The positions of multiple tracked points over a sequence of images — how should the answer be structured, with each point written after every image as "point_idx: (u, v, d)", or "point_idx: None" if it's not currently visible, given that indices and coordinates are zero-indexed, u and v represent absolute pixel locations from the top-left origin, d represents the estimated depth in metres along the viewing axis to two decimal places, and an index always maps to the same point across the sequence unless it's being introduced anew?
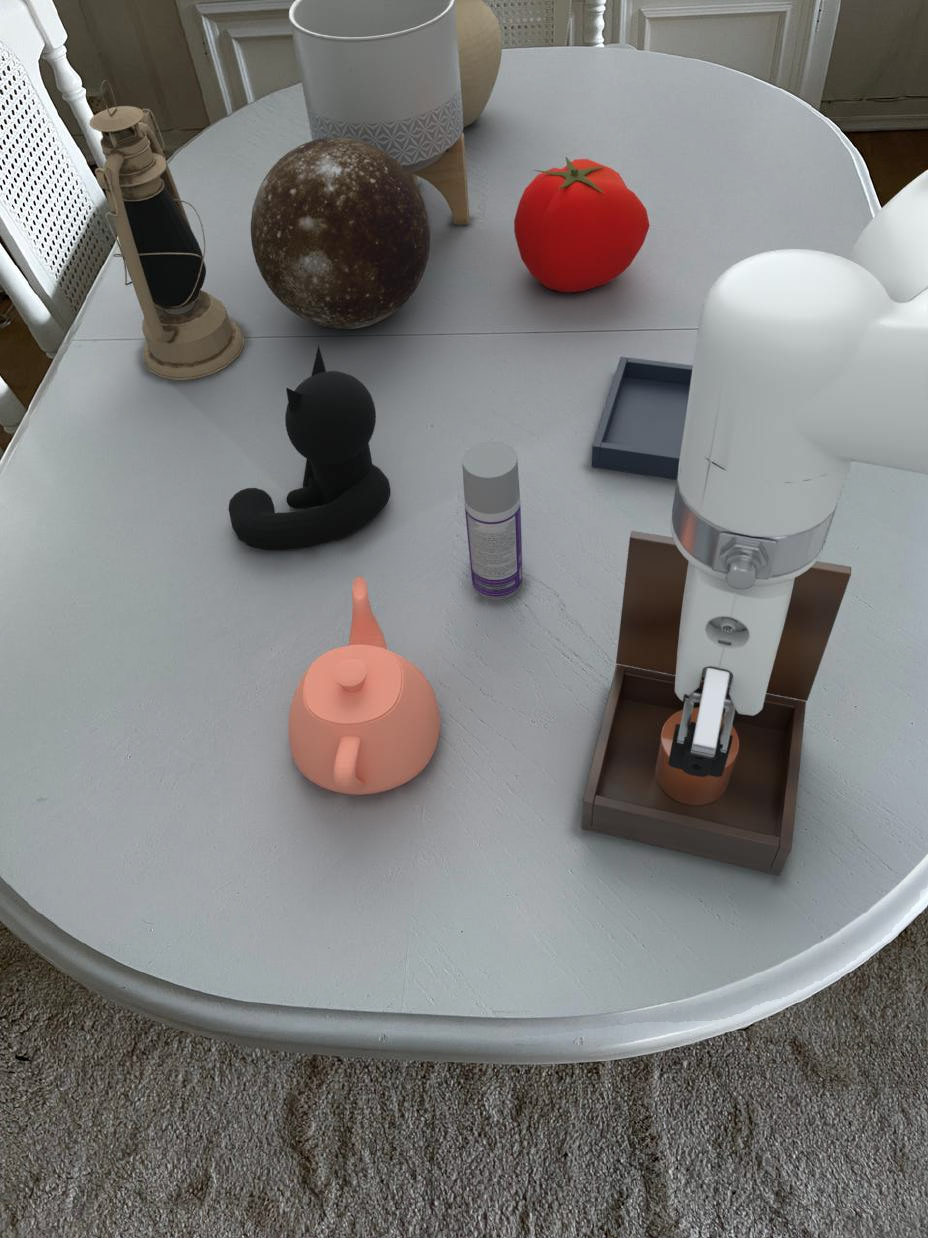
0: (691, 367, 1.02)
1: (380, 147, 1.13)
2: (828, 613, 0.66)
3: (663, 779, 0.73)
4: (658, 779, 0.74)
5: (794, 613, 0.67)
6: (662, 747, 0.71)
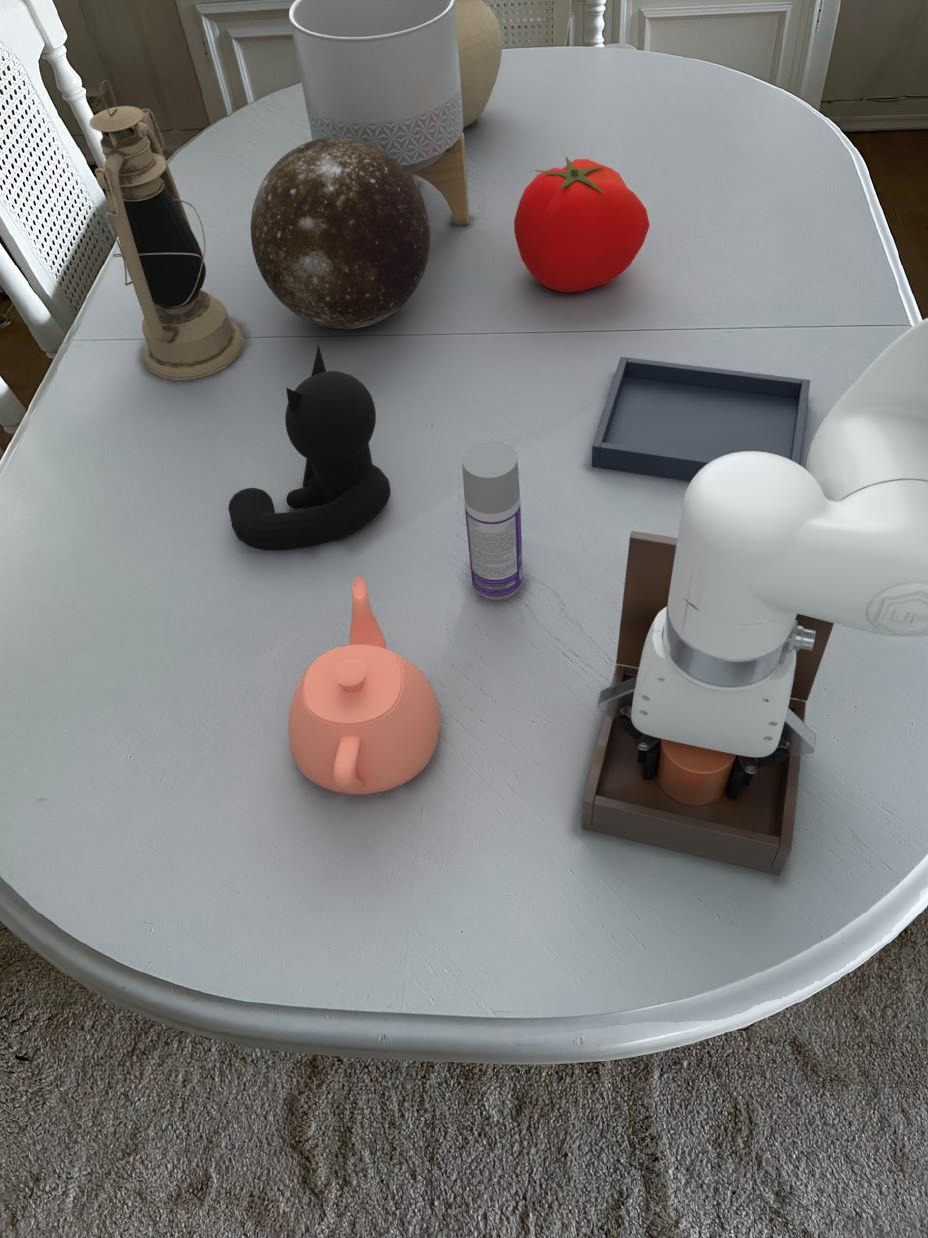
0: (691, 367, 1.02)
1: (380, 147, 1.13)
2: None
3: (663, 779, 0.73)
4: (658, 779, 0.74)
5: None
6: (662, 747, 0.71)
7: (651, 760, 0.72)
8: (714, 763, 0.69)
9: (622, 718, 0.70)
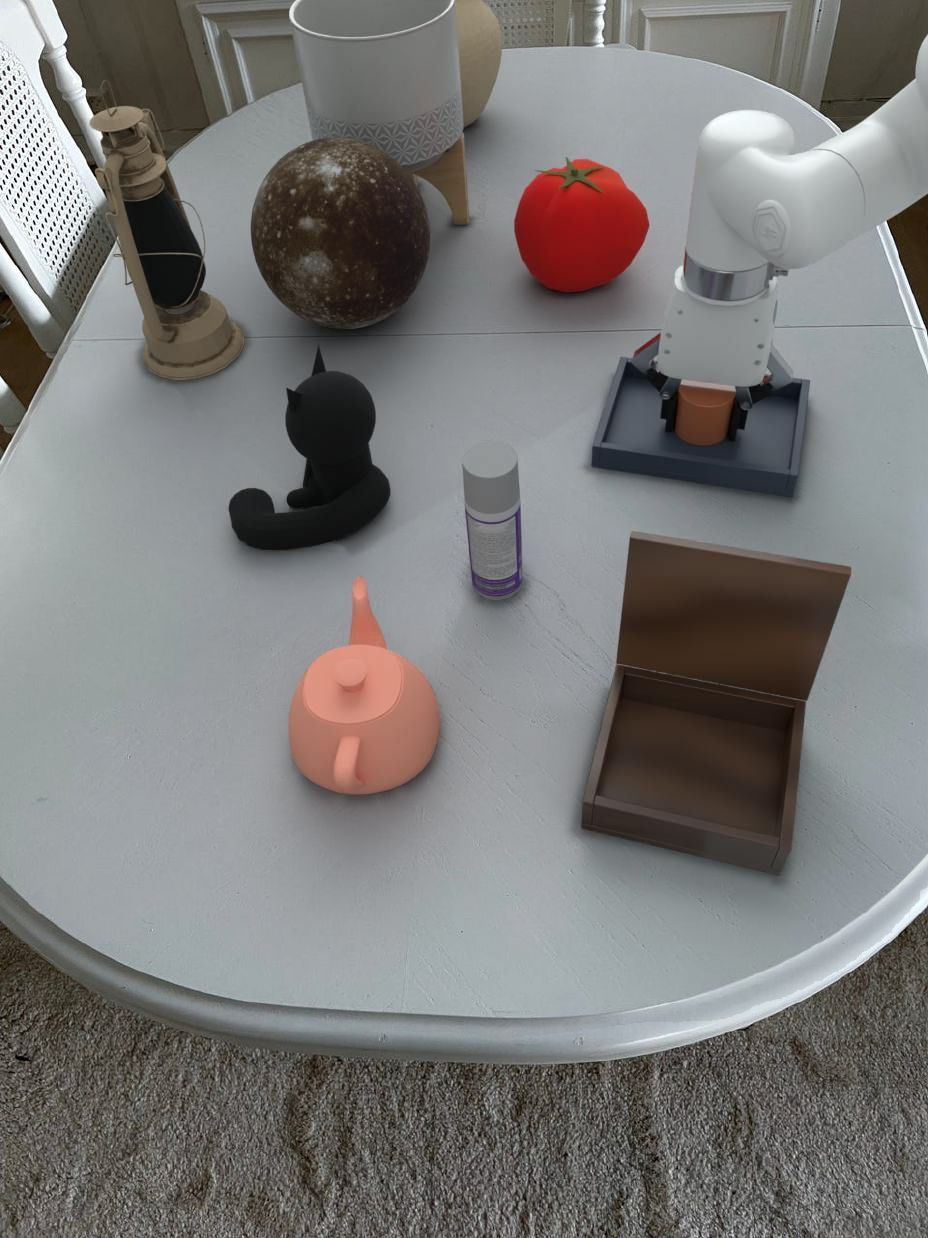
0: None
1: (380, 147, 1.13)
2: (828, 613, 0.66)
3: (680, 425, 0.97)
4: (676, 429, 0.98)
5: (794, 613, 0.67)
6: (679, 394, 0.95)
7: (671, 408, 0.96)
8: (719, 401, 0.94)
9: (650, 371, 0.95)
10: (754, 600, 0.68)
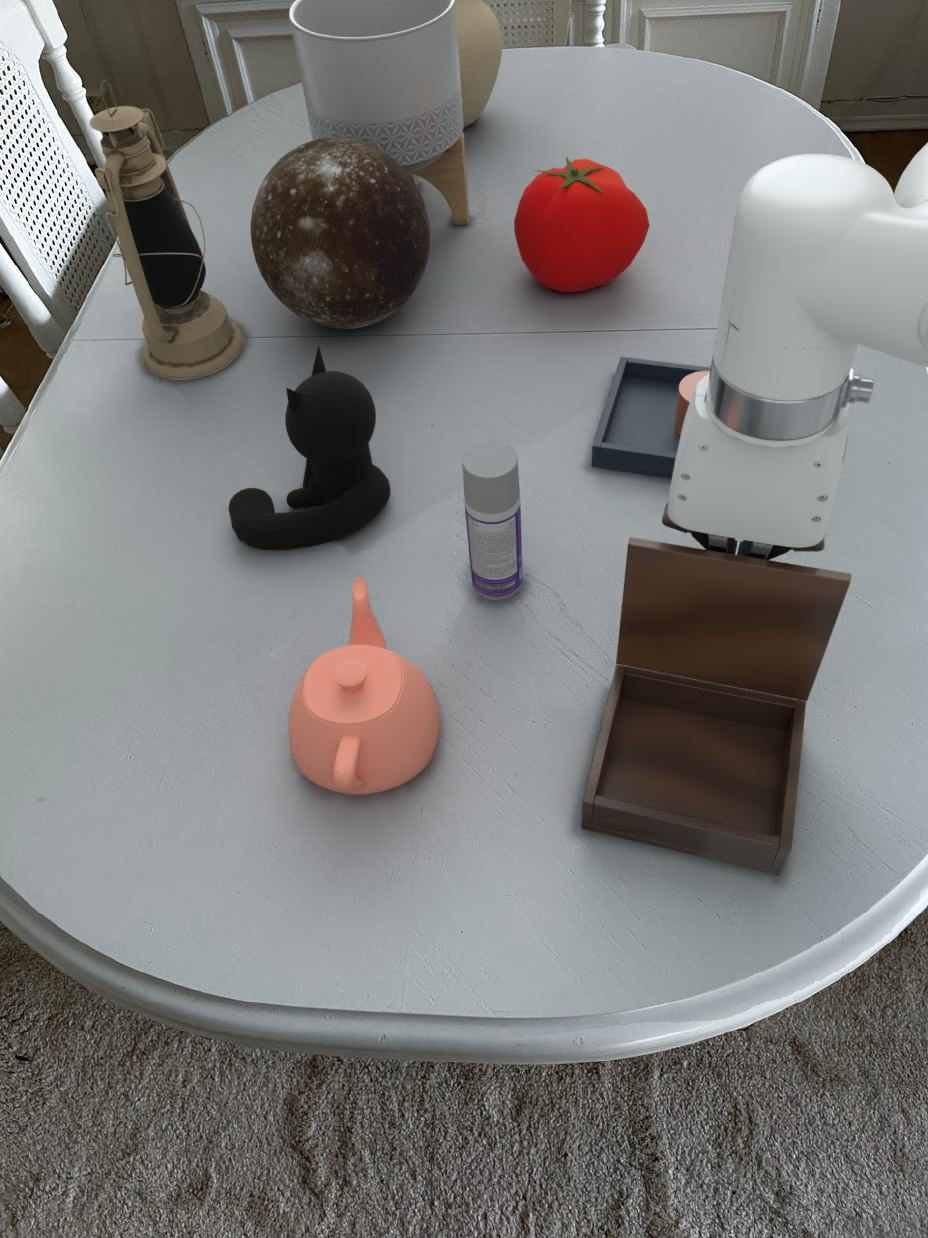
0: (691, 367, 1.02)
1: (380, 147, 1.13)
2: (827, 618, 0.66)
3: (680, 425, 0.97)
4: (676, 429, 0.98)
5: (793, 618, 0.67)
6: (679, 394, 0.95)
7: None
8: None
9: None
10: (754, 605, 0.67)
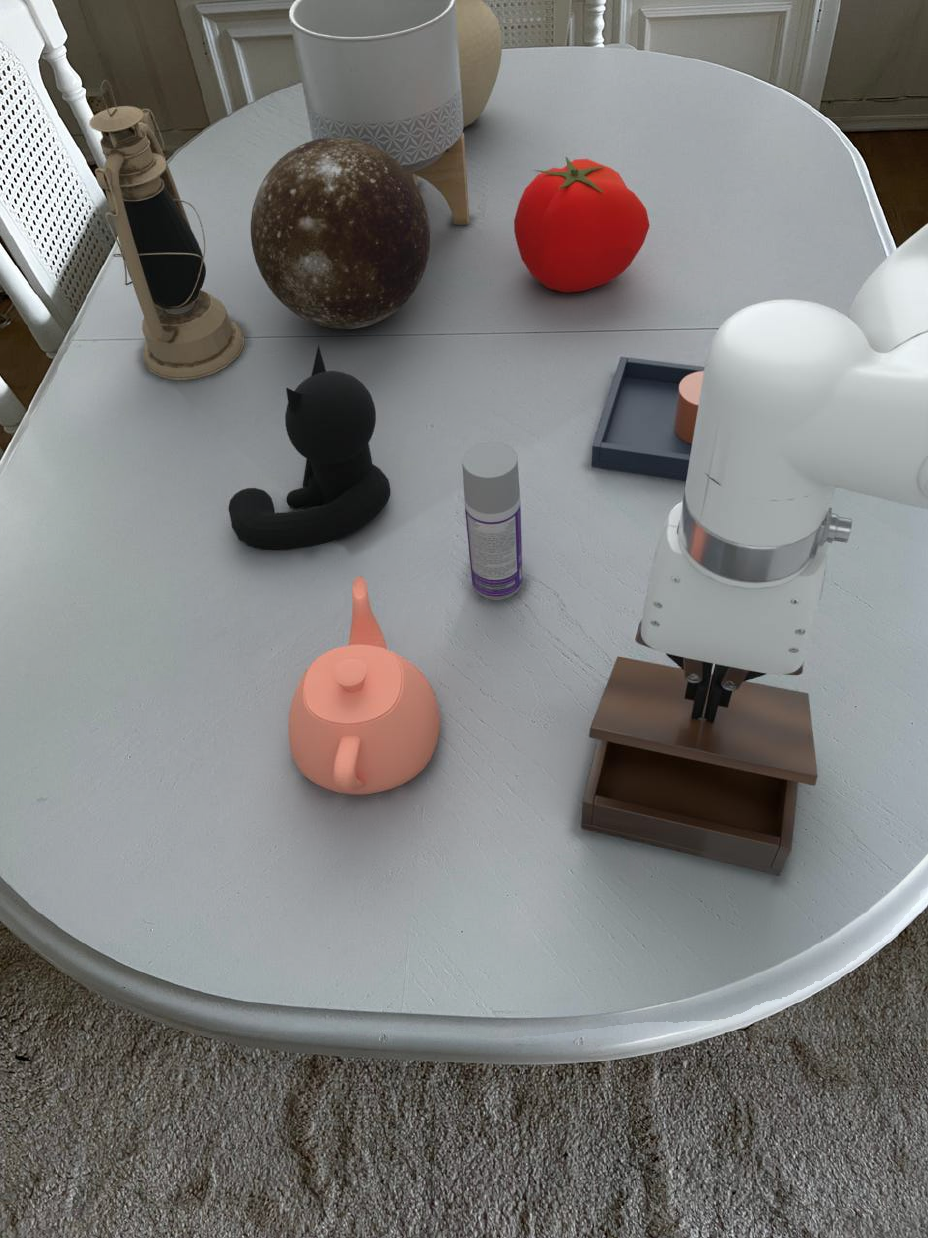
0: (691, 367, 1.02)
1: (380, 147, 1.13)
2: None
3: (680, 425, 0.97)
4: (676, 429, 0.98)
5: None
6: (679, 394, 0.95)
7: (702, 694, 0.65)
8: None
9: None
10: None
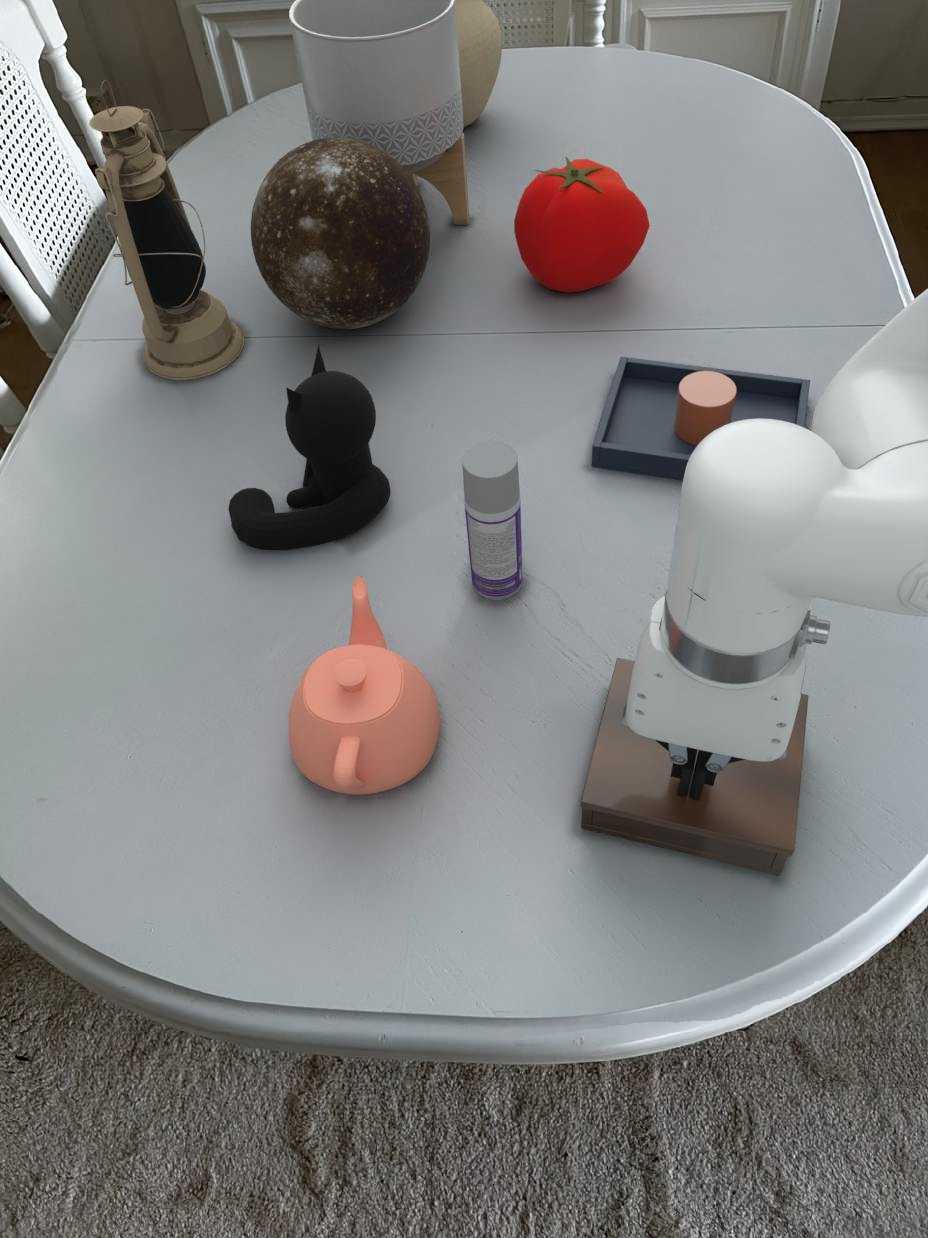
0: (691, 367, 1.02)
1: (380, 147, 1.13)
2: None
3: (680, 425, 0.97)
4: (676, 429, 0.98)
5: None
6: (679, 394, 0.95)
7: (687, 775, 0.66)
8: (718, 401, 0.94)
9: None
10: None
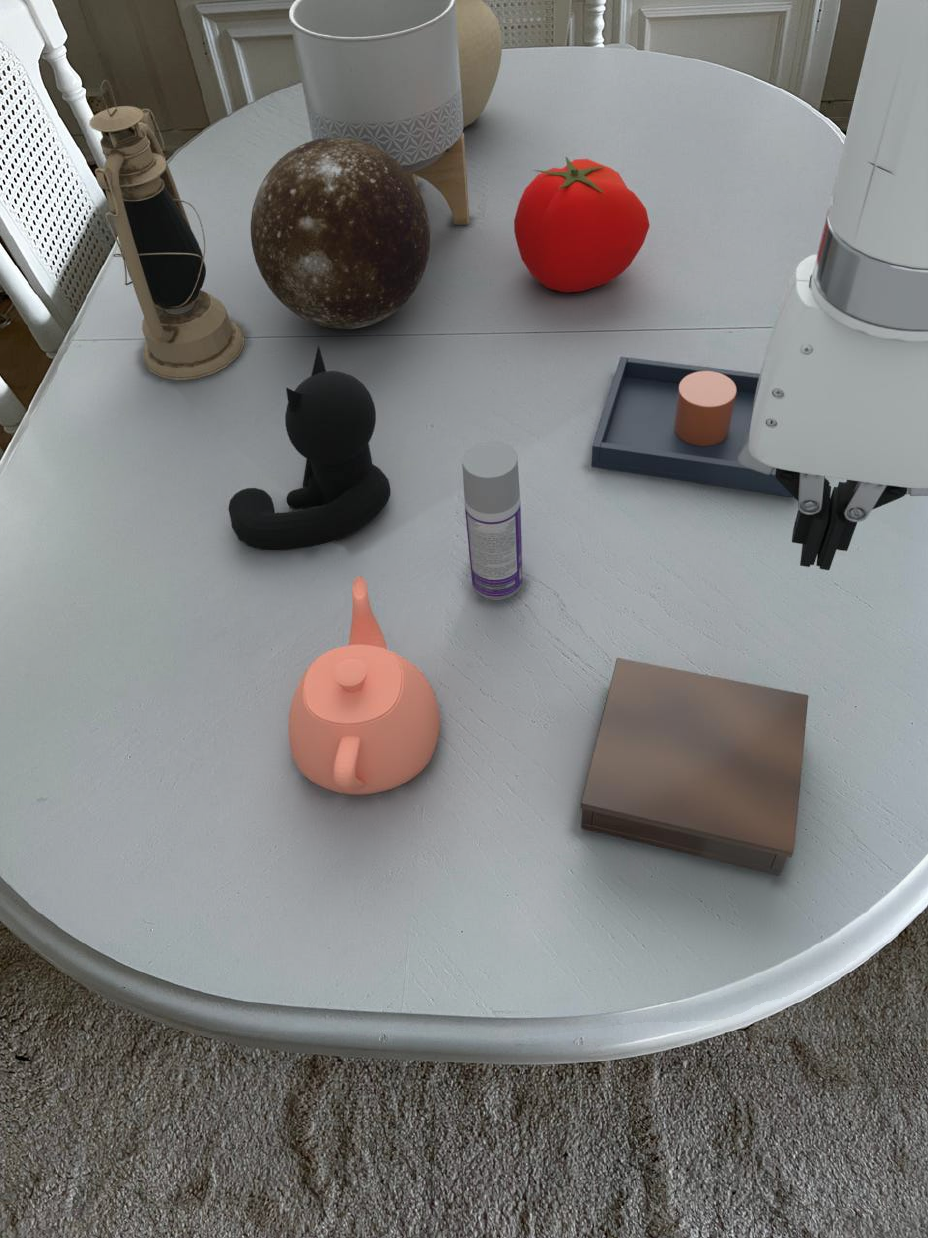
0: (691, 367, 1.02)
1: (380, 147, 1.13)
2: None
3: (680, 425, 0.97)
4: (676, 429, 0.98)
5: None
6: (679, 394, 0.95)
7: (819, 529, 0.53)
8: (718, 401, 0.94)
9: None
10: None
